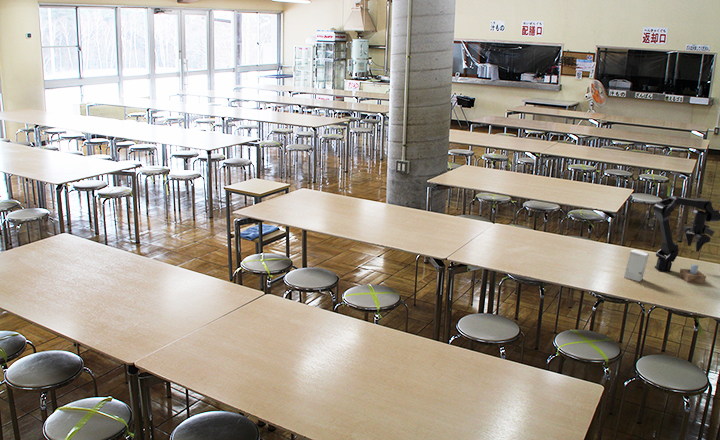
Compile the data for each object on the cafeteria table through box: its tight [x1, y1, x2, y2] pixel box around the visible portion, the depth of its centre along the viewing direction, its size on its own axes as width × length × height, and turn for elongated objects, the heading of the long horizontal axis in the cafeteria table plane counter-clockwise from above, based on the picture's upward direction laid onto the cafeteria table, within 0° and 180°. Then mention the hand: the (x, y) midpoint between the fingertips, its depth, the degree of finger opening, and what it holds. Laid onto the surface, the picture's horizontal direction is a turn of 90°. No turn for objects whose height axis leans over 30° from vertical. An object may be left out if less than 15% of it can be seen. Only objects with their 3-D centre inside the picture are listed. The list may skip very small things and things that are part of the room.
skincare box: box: [623, 249, 650, 282], centre depth 308 cm, size 8×6×15 cm
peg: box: [689, 263, 699, 274], centre depth 312 cm, size 3×3×8 cm
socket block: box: [678, 268, 707, 284], centre depth 313 cm, size 9×9×4 cm
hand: (693, 248), depth 325 cm, fingers open, 9 cm apart
